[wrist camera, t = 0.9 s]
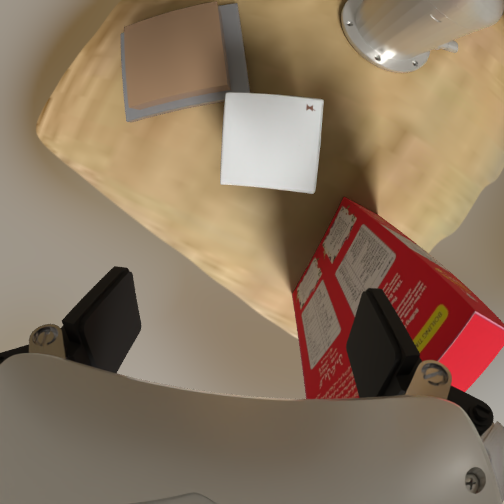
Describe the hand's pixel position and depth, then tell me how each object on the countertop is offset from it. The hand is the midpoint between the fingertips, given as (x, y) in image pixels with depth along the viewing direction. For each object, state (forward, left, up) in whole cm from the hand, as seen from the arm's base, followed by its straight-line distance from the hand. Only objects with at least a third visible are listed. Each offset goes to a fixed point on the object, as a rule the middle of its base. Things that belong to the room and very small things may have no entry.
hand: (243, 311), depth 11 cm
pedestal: (+7, -18, -24) cm, 31 cm away
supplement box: (-2, -6, -24) cm, 25 cm away
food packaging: (-9, +9, -24) cm, 27 cm away
